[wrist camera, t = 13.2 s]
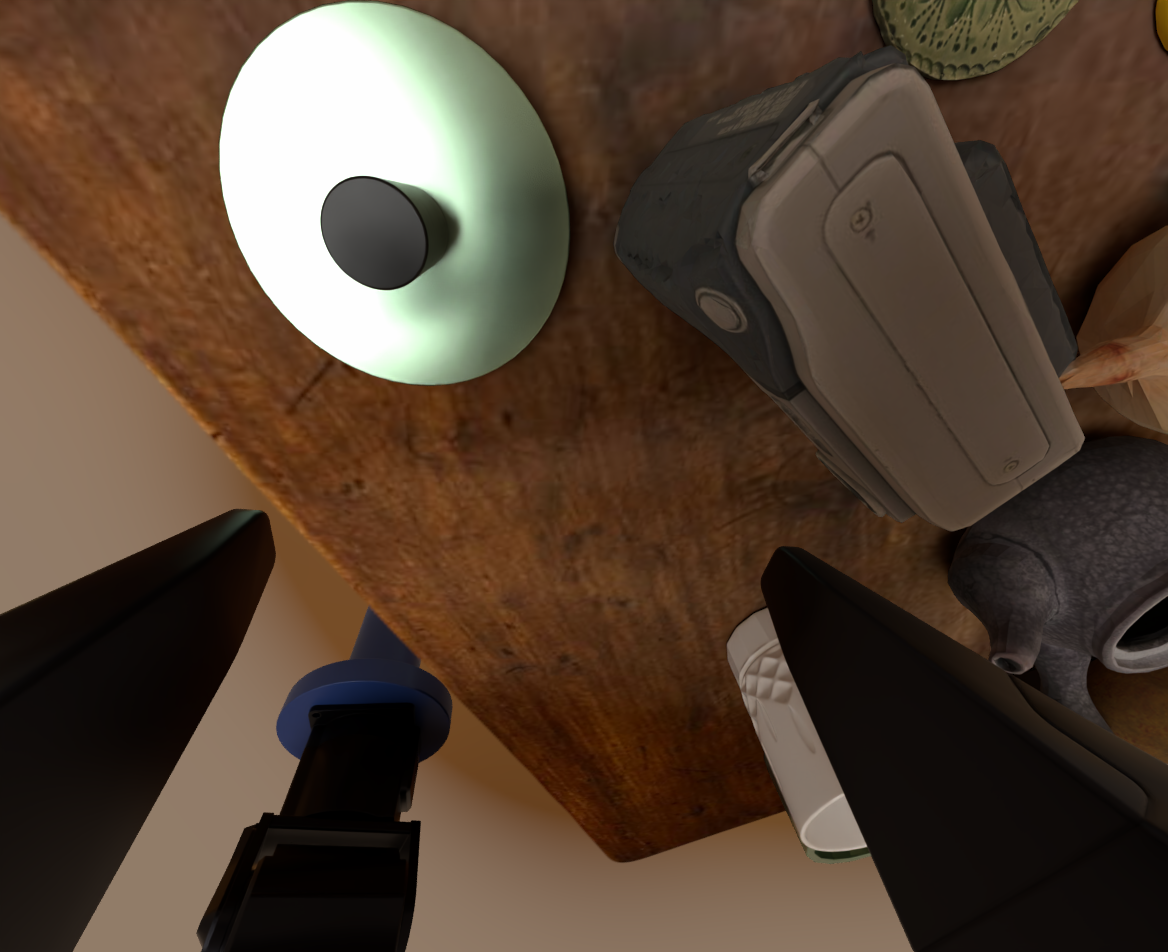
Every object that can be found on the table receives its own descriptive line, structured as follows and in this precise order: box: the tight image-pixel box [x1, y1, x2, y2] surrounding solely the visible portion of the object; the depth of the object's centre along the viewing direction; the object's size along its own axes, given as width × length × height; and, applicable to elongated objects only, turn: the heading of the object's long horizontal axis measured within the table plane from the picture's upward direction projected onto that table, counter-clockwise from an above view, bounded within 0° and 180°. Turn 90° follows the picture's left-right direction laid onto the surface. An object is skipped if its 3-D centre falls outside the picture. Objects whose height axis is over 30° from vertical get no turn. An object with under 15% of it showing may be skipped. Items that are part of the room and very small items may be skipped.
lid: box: [219, 0, 570, 386], centre depth 13 cm, size 10×10×5 cm
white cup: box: [727, 608, 867, 852], centre depth 25 cm, size 8×8×10 cm
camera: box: [613, 45, 1085, 532], centre depth 13 cm, size 11×6×10 cm, turn 46°
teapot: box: [948, 436, 1168, 735], centre depth 24 cm, size 19×15×10 cm
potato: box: [1087, 658, 1168, 764], centre depth 34 cm, size 8×12×8 cm
